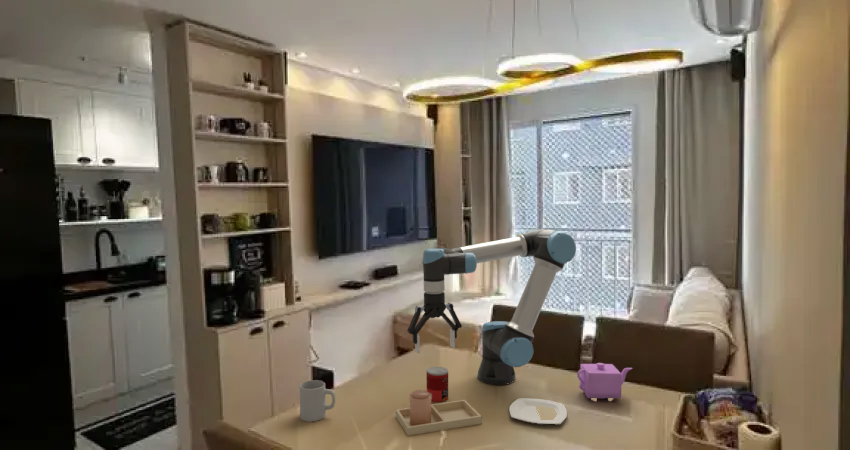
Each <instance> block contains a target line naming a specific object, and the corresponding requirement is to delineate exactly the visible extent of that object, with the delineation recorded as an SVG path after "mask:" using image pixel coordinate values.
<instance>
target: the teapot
mask: <svg viewBox="0 0 850 450" xmlns="http://www.w3.org/2000/svg"><path fill="white" fill-rule="evenodd" d="M632 369H634V368H633V367H625V368H623V369H622V371H621V372H620V371H619V369H618V368H617V367H616V366H615V365H614V364H613V363H603V362H597V363H580V369H579V370H578V371H577V373H576V377H577V378H578V380H579V383H580V384H579V386H578V388H579V389H580V390H581V391H582V390H583V391H582V392H583V394H584V393H585V394H584V395H585V396H587V397H586V398H587V399H591V398H598V399H605V398H621V399H622V385H623V384H624V383H625V380H626V376H627V374H628V372H629V371H631V370H632Z"/></svg>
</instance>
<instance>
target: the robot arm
mask: <svg viewBox="0 0 850 450" xmlns="http://www.w3.org/2000/svg"><path fill="white" fill-rule="evenodd" d="M576 251H577V245H576V242H575V240H574V238H573V237H572V236H571V235H570V234H569V233H567V232H566V231H565V232H564V231H561V230H552V229H548V228H542V229H536V230H532V231H528V232H527V231H526V232H524V233H523V232H522V233H518V234H516V236H513V237H510V238H504V239H498V240H494V241H493V240H492V241H487V242H481V243H475V244H469V245H465V246H460V247H453V248H447V247H445V248H426V249H424V250H423V253H422V255H423V256H422V265H423V266H422V268H423V269H422V271H423V292H424V293H423V306H418V305H416V306H415V308H414V310H415V311H414V313H413V316H412V319H411V321H410V322H409V325H408V328H407V330H406V332H407V333H408V334H410V335H412V344H414V346H415V347H414V349H415V352H416V353H417V354H421V351H420V350H421V347H420V346H421V345H420V343H421V342H420V341H421V340H420V338H421V336H420V334H419V333H420V332H421V330H422V328H423V327H424V326H425V324H426V322H427V321H429V320H430V319H435V318H437V319H438V318H440V317H442V319H443V320H444V321H445V322H446V323H447V324H448V325H449V326H450V329H449V347H450V348H452V349H456V342H455V341H456V339H457V336H458V331H459V329H461V328H462V327H463V325H462V324H461V322H460V319H459V317H458V316H457V314H456V311H455V310H454V309H455V308H454V304H453V303H451V302H447V303H446V304H445V302H446V301H445V299H446V296H445V295H446V293H445V290H446V289H445V276H446V275H447V276H449V275H460V274H472V273H474V272H475V271H476V270H477V265H478V264H481V263H487V262H493V261H497V260H503V259H508V258H513V257H521V258H527V257H532V258H533V261H534V266H533V268H532V271H531V273H530V275H529V278H528V280H527V283H526V285H525V287H524V289H523V292H522V294H521V297H520V298H519V302H518V304H517V306H516V309H515V310H514V313H513V316H512V318H511V320H510V321H504V320H503V321H501V320H500V321H497V320H496V321H486V322H484V323H483V324H482V330H481V334H482V335H481V336H482V337H481V342H482V346H481V350H482V353H481V355H482V356H481V357H482V358H481V362H480V365H479V367H478V371H477V379H478V380H479V381H480V382H483V383H485V384H488V385H496V386H497V385H498V384H499V385H500V384H504V385H508V384H507V383H509V384H511V383H510V382H512V381H514V380H515V381H516V371H515V369H514V368H520V367H524V366H525V365H526V364H528V363H529V362H530V361H531V359H532V358H533V355H534V346H533V344H532V343H533V341H534V338H535V335H534V332H533V329H534V327H535V325H536V323H537V321H538V318H539V315H540V313H541V311H542V308H543V306H544V304H545V301H546V299H547V296H548V295H549V291H550V289H551V286H552V284H553V282H554V280H555V278H556V275H557V273H558V272H561V271H563V269H564V267H565V264H567V263H569V262H570V261H572V260H573V259H574V257H575V255H576ZM446 310H448V312H449V314H450V317H451V318H452V320H453V321H452V320H451V319H450V318H449V316H447V314H446V313H445V311H446ZM423 311H424V313H423ZM422 313H423V315H422V317H421V318H420V316H421V314H422ZM419 319H420V320H419ZM453 322H454V323H453ZM515 381H514V382H515ZM512 383H513V382H512ZM499 385H498V386H499ZM500 386H501V385H500Z"/></svg>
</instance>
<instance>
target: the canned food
mask: <svg viewBox="0 0 850 450" xmlns="http://www.w3.org/2000/svg"><path fill="white" fill-rule="evenodd" d="M426 391H428V392H429V393H430V394H431V403H432V402H433V403H445V402H447V400H448V399H449V370H448V368H446V367H443V366H432V367H428V368H427V369H426Z"/></svg>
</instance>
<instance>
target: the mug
mask: <svg viewBox="0 0 850 450" xmlns="http://www.w3.org/2000/svg"><path fill="white" fill-rule="evenodd" d="M326 395H331V399H332V400H331V401H332V402H331V404H327V401H326ZM335 406H336V394H335V392H334V390H332V389H329V388H326V383H325V382H324V381H323V380H318V379H314V380H313V379H312V380H306V381H304V382H301V383H300V385H299V417H300V419H301V421H303V422H309V423H310V422H312V421H314V422H318V420H319V421H321V420H323V419H324V418H325V417H326V415H327V410H328V411H329V410H333V408H334V407H335ZM312 423H313V422H312Z"/></svg>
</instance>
